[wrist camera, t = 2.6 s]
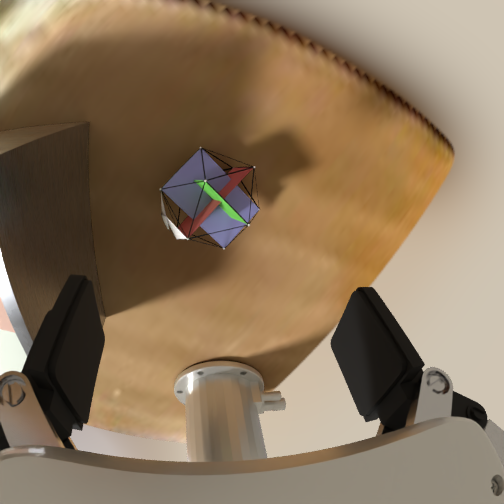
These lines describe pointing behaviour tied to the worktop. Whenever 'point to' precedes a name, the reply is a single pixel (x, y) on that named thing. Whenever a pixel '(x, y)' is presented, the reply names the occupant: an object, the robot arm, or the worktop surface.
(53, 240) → the bin
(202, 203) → the geometric puzzle
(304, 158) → the worktop surface
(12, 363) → the trapdoor
